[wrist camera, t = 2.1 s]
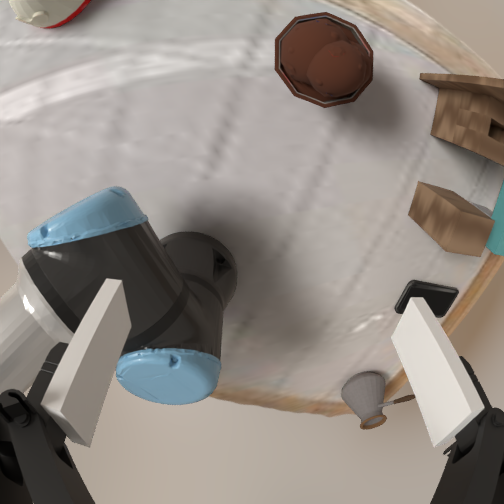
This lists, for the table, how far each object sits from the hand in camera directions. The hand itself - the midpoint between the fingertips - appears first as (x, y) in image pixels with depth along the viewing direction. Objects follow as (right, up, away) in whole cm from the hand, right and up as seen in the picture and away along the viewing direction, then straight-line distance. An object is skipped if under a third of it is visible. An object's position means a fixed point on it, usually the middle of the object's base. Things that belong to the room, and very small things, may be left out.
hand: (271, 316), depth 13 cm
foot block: (+29, +11, +31) cm, 44 cm away
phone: (+35, -7, +42) cm, 56 cm away
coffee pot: (+29, -25, +52) cm, 65 cm away
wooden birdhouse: (+31, +24, +24) cm, 46 cm away
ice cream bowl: (+7, +27, +21) cm, 35 cm away
